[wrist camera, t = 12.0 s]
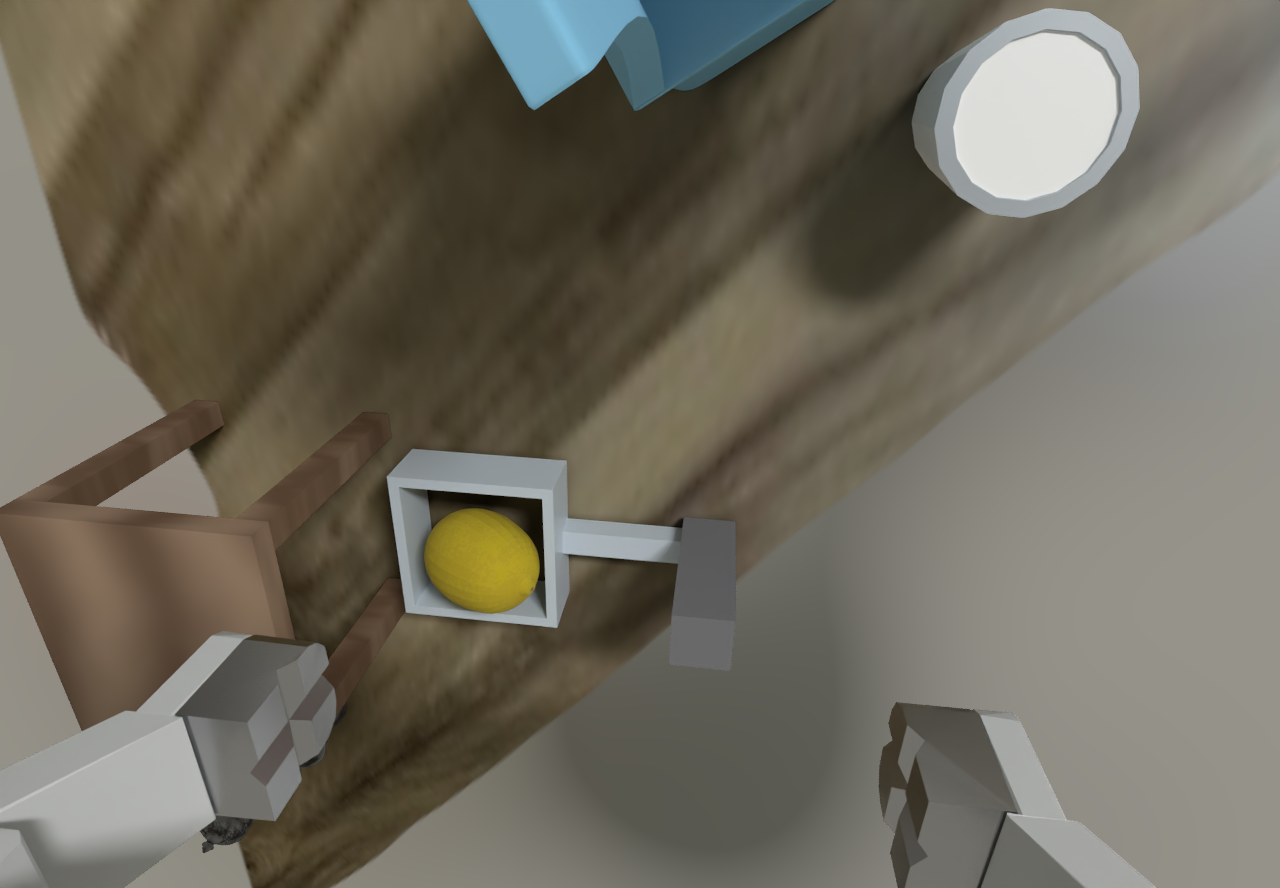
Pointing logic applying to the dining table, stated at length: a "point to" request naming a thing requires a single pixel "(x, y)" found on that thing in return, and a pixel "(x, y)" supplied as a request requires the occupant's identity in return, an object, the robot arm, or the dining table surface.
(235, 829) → the gray stone ornament
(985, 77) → the grey white cylinder
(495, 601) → the lemon
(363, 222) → the dining table surface
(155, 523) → the tunnel
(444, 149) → the dining table surface
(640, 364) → the dining table surface
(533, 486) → the slider
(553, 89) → the blue angular vessel
